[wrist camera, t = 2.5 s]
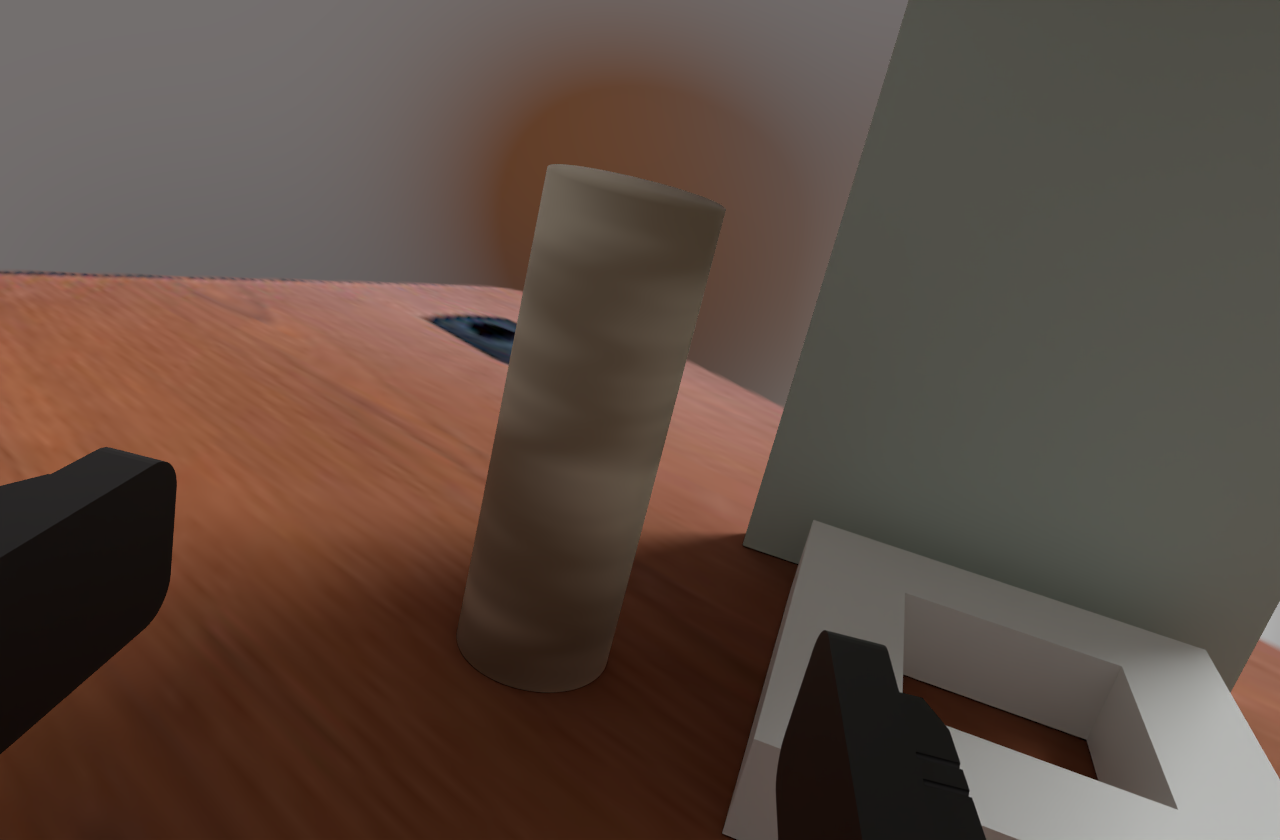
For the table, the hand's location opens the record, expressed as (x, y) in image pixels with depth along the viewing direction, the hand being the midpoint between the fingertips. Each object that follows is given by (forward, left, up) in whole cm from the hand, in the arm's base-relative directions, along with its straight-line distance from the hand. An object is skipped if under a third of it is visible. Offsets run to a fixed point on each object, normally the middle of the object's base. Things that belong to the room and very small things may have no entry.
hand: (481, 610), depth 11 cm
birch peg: (-2, +11, -8) cm, 14 cm away
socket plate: (+10, +13, -8) cm, 18 cm away
